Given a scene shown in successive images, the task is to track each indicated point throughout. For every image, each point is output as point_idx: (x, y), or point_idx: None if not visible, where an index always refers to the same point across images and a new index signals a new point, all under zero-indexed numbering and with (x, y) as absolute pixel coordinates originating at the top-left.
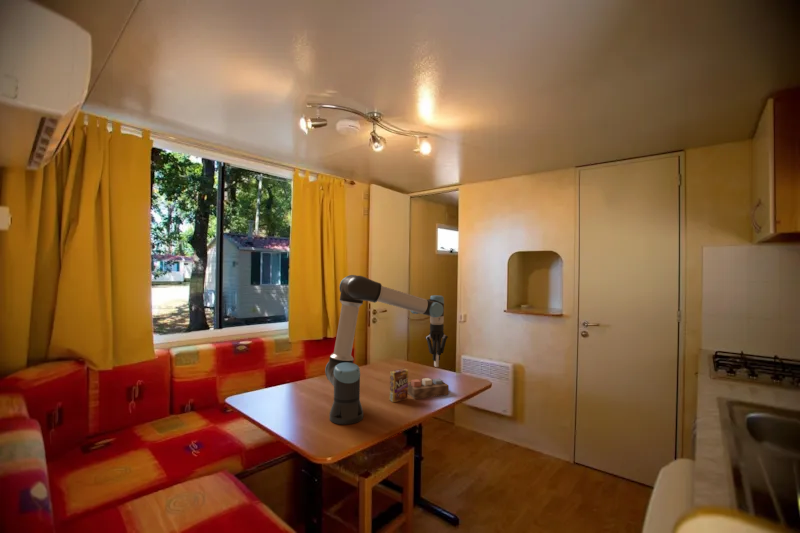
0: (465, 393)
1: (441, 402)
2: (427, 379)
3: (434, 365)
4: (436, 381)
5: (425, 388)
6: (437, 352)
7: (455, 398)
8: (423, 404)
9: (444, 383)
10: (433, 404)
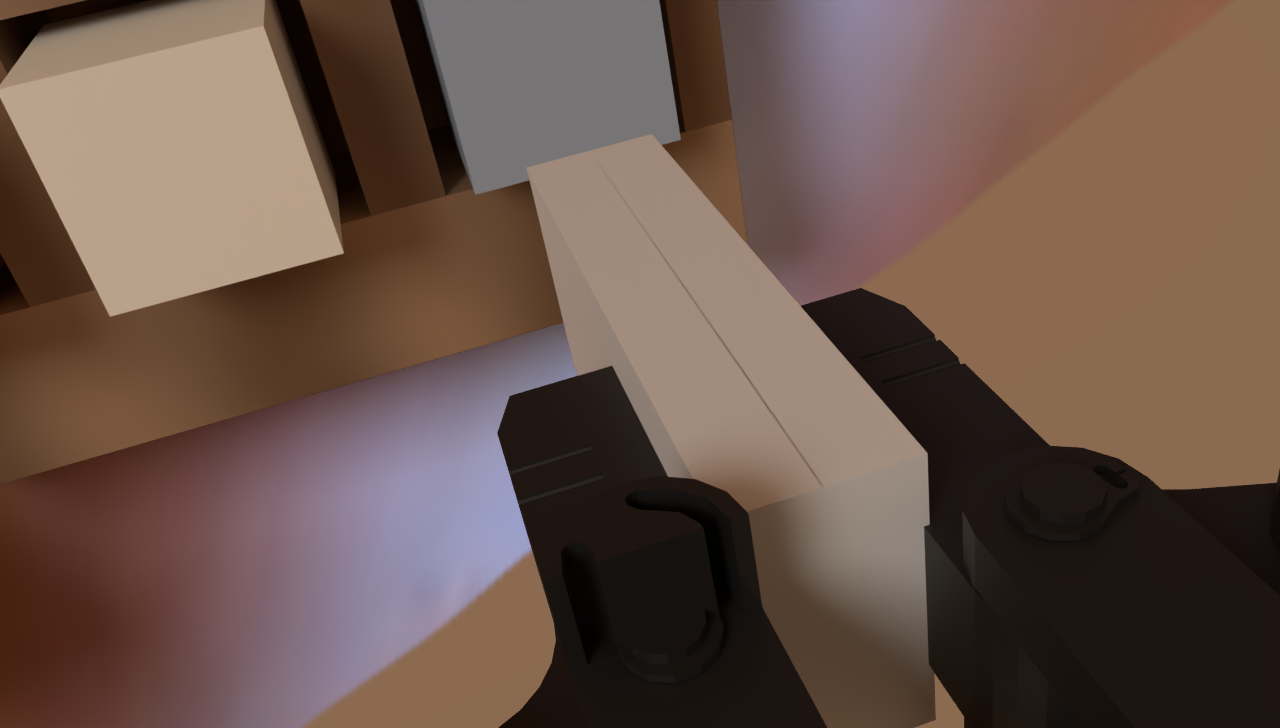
0: (1020, 143)
1: (439, 531)
2: (199, 187)
3: (546, 230)
4: (488, 190)
5: (122, 445)
6: (1017, 673)
7: None
8: (86, 619)
9: (704, 128)
10: (278, 609)
